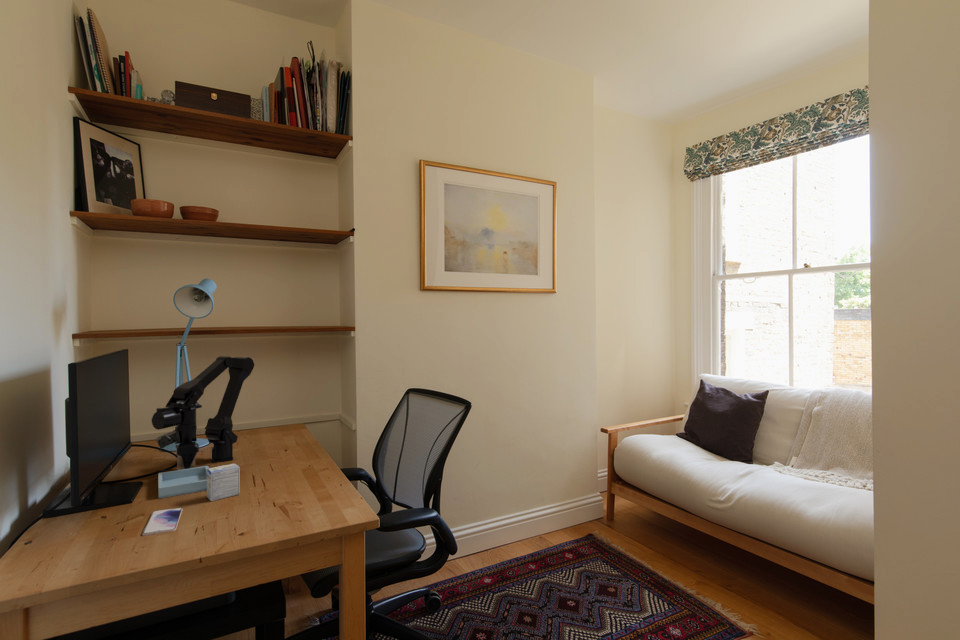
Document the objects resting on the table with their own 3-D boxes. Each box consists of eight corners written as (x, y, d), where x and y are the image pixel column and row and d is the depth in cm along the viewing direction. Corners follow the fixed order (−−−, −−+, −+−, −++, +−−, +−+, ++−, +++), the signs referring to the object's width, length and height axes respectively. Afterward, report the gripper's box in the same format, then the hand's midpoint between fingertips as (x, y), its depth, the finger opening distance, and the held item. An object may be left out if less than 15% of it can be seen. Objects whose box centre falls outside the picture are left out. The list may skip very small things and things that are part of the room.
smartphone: (183, 507, 133) (175, 529, 119) (182, 510, 133) (175, 532, 119) (152, 510, 130) (141, 533, 116) (152, 514, 130) (141, 537, 116)
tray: (208, 474, 161) (208, 465, 161) (212, 489, 148) (213, 479, 148) (158, 482, 153) (158, 473, 153) (158, 498, 140) (158, 488, 140)
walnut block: (194, 468, 167) (194, 451, 167) (195, 472, 163) (195, 454, 162) (177, 471, 164) (177, 453, 164) (177, 475, 160) (178, 457, 160)
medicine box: (235, 490, 146) (235, 462, 146) (239, 494, 143) (240, 466, 143) (206, 497, 141) (206, 468, 141) (210, 502, 138) (211, 472, 138)
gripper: (157, 420, 166) (157, 465, 166) (158, 431, 151) (158, 480, 151) (195, 416, 172) (194, 459, 173) (198, 427, 157) (198, 474, 157)
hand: (186, 468), depth 163 cm, fingers closed on walnut block, 5 cm apart
